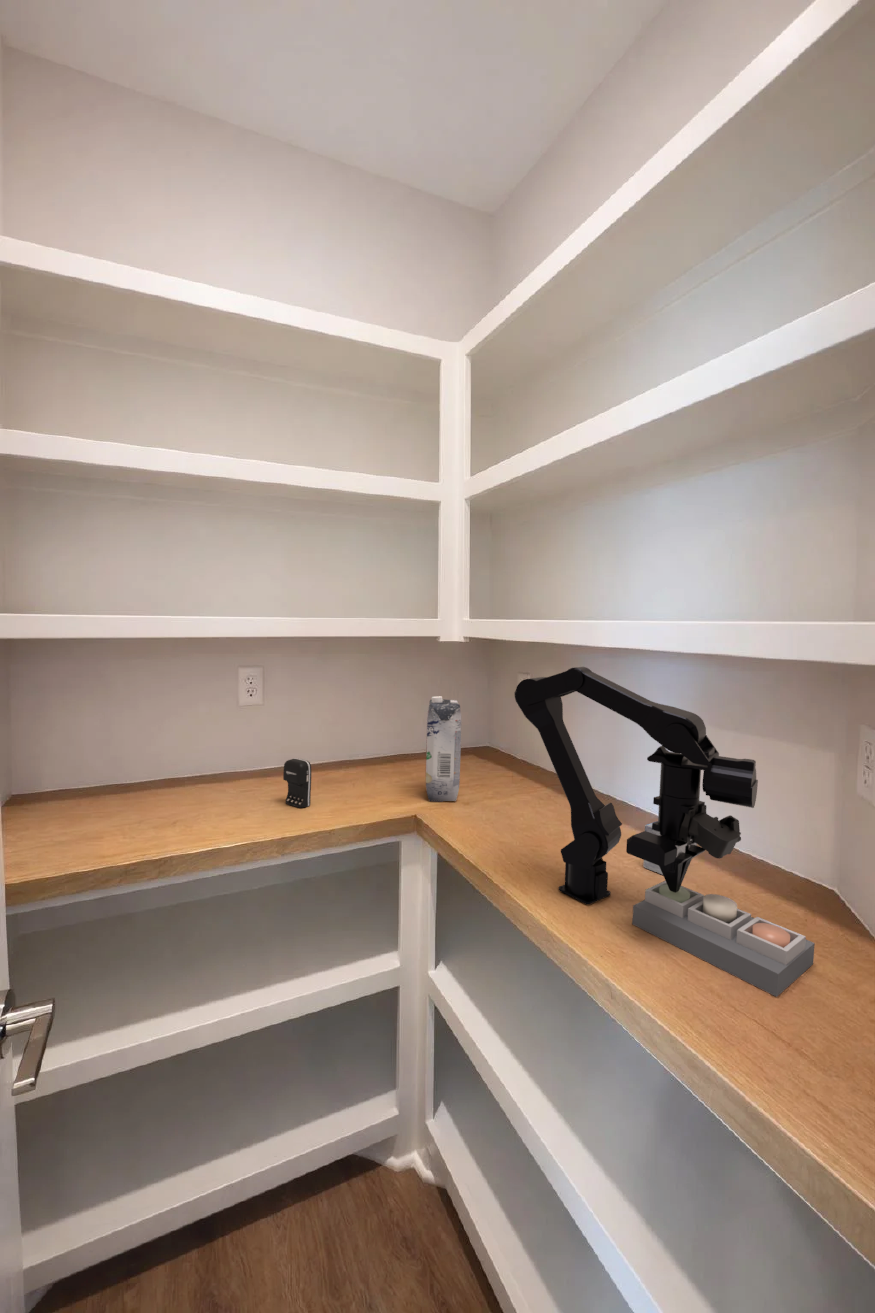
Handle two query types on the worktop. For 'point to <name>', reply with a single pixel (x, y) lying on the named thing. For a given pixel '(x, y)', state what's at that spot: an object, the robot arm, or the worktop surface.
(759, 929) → the terracotta button
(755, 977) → the grey button panel
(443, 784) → the juice carton
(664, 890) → the sage button
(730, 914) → the cream button
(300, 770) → the battery charger
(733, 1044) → the worktop surface
